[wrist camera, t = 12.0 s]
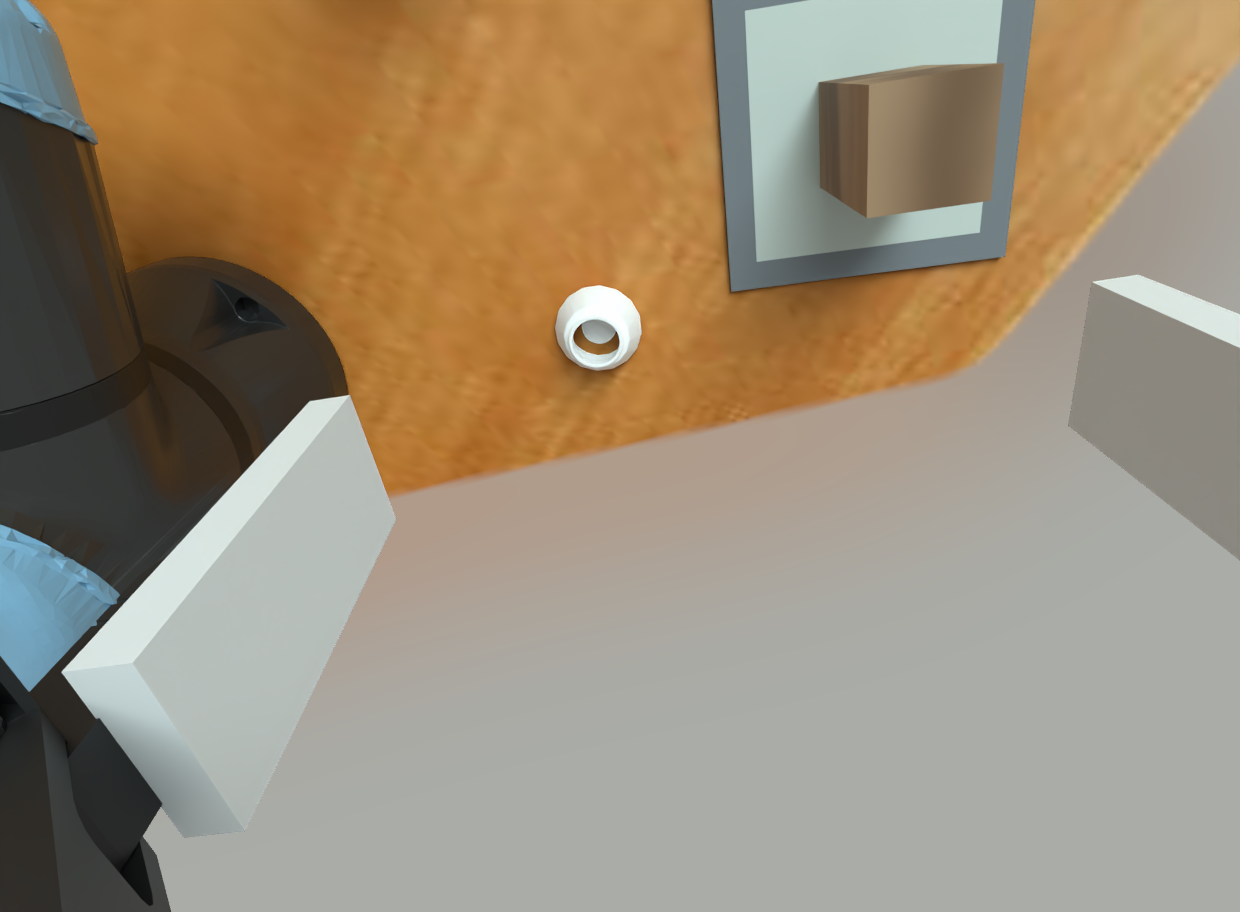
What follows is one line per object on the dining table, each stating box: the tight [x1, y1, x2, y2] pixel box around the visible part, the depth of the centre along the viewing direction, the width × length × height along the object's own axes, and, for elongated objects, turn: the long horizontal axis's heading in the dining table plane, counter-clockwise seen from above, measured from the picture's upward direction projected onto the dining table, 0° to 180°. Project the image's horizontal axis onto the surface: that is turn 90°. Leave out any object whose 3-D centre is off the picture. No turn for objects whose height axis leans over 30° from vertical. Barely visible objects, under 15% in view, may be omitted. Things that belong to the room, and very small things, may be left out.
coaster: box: [712, 0, 1035, 292], centre depth 36 cm, size 15×15×1 cm
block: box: [819, 63, 1004, 218], centre depth 32 cm, size 5×5×9 cm
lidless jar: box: [555, 285, 642, 371], centre depth 41 cm, size 5×3×5 cm
